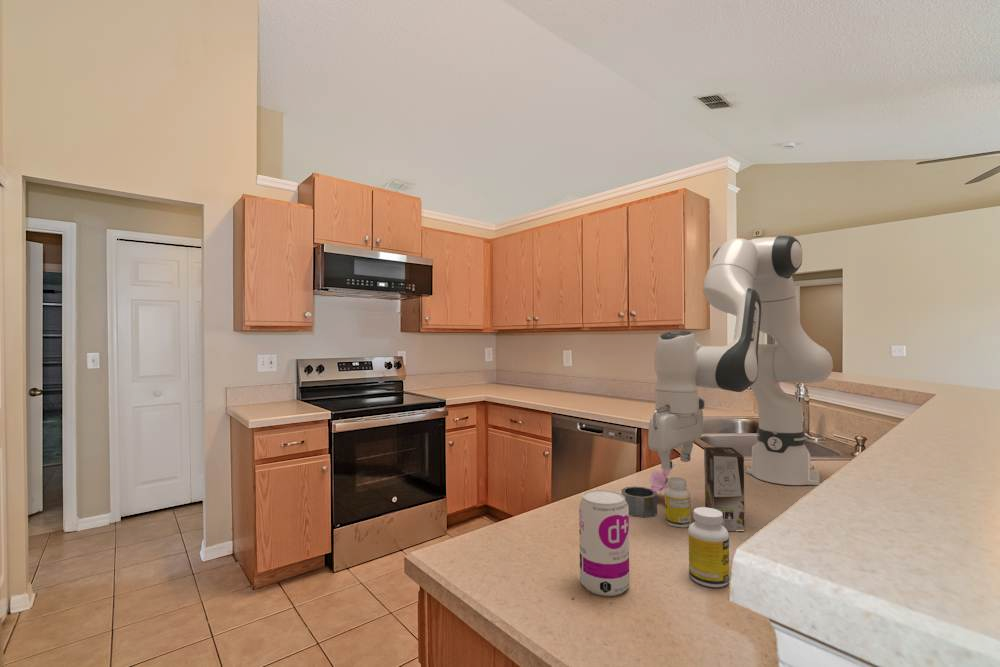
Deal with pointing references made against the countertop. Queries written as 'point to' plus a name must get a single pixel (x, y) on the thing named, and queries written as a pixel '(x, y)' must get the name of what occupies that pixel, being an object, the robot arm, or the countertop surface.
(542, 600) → the countertop surface
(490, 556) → the countertop surface
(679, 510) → the supplement bottle
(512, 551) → the countertop surface
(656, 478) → the lily
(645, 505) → the collar
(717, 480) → the coffee box
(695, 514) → the pill bottle
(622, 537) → the supplement can
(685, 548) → the countertop surface
